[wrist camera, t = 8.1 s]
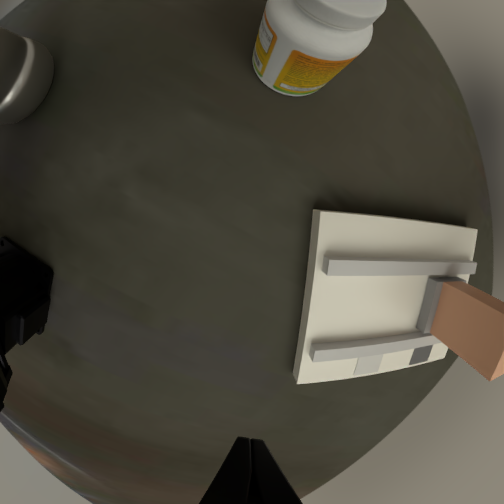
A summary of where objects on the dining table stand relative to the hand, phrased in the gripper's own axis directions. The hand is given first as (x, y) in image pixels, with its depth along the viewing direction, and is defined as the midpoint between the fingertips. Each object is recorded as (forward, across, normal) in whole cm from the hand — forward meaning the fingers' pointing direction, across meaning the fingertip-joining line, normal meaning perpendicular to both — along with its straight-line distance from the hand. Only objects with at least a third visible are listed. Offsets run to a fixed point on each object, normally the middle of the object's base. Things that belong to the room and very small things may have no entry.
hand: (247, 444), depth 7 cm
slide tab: (+12, -16, -3) cm, 20 cm away
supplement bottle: (+13, +1, -17) cm, 21 cm away
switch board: (+14, -12, -2) cm, 18 cm away
